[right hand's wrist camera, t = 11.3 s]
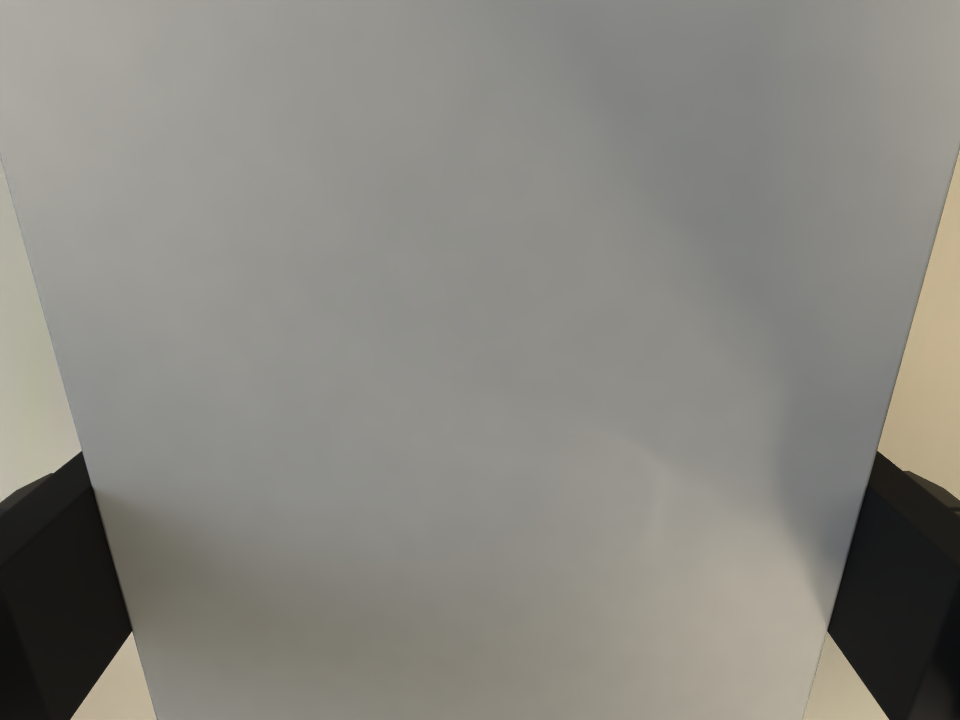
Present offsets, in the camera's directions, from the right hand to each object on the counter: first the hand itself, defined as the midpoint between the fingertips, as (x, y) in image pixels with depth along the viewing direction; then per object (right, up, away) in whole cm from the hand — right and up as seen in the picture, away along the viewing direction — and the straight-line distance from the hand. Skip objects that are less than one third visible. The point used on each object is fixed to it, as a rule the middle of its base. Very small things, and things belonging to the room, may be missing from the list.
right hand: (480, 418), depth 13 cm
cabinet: (0, +5, +3) cm, 6 cm away
